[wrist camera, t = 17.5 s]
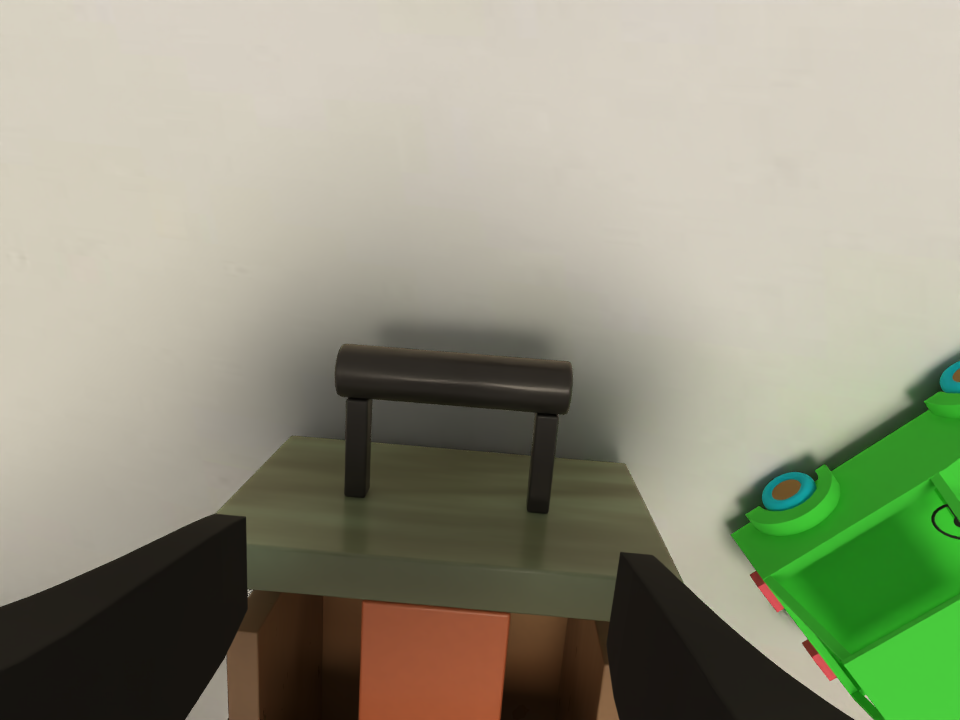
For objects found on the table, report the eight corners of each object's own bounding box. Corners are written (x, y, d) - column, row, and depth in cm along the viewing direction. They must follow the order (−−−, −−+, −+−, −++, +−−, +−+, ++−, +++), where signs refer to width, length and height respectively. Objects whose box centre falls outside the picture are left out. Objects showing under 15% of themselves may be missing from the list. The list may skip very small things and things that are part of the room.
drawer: (290, 312, 19) (178, 362, 13) (643, 340, 19) (716, 406, 12) (292, 713, 23) (206, 914, 16) (586, 741, 23) (620, 956, 16)
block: (385, 629, 21) (357, 724, 17) (389, 525, 20) (360, 601, 16) (500, 639, 21) (498, 738, 17) (509, 536, 20) (511, 614, 16)
